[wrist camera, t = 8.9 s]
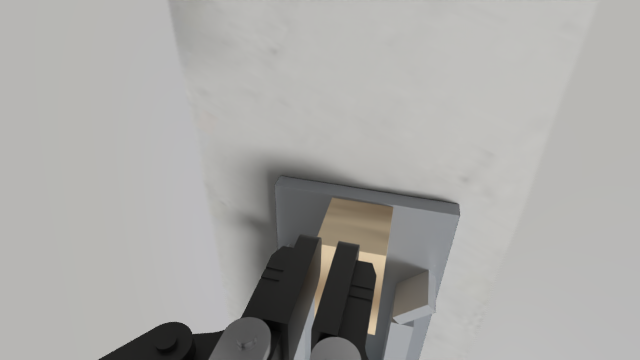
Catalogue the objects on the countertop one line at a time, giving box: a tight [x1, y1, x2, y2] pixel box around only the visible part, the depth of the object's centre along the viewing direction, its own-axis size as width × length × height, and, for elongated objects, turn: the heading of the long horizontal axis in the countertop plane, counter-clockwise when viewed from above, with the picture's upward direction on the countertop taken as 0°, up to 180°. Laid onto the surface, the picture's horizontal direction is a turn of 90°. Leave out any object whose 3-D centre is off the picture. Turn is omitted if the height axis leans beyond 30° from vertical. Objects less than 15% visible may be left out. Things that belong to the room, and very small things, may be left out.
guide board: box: [275, 176, 460, 360], centre depth 30 cm, size 21×12×4 cm, turn 179°
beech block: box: [314, 198, 394, 335], centre depth 25 cm, size 7×4×4 cm, turn 179°
